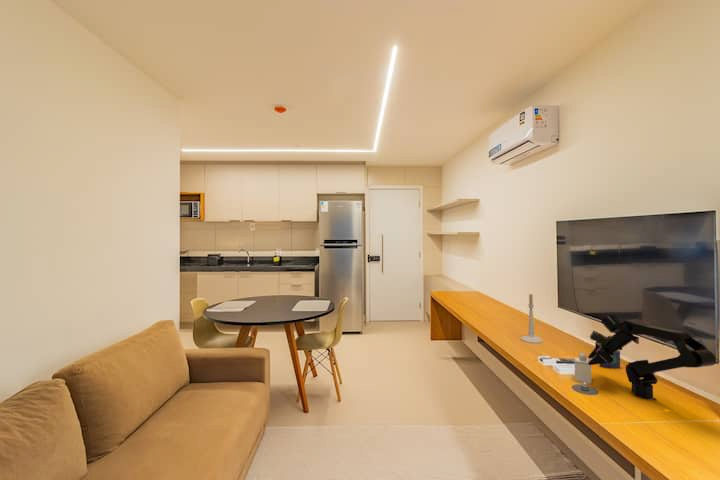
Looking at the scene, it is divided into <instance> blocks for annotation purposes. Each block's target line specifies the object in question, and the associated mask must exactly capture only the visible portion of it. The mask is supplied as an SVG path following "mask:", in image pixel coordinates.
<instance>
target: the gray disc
mask: <svg viewBox="0 0 720 480" xmlns="http://www.w3.org/2000/svg"><path fill="white" fill-rule="evenodd" d="M581 386H582V384H579V383H578V384H573V385H571V387H570V388H571V389H572V390H573V391H575V392H576V393H579V394H582V395H585V396H586V395H587V396H596V395H598V394H599V393H600V392H599V390H598V389H597V388H594V387H593V386H590V385H588V388H589V391H585V390H582V389H581Z"/></svg>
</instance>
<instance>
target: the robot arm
mask: <svg viewBox="0 0 720 480" xmlns="http://www.w3.org/2000/svg"><path fill="white" fill-rule="evenodd" d="M600 323H601V324H602V325H603V326H604V327H605V328H606V329H607V330H608V332H609V333H613V335H607V336H605V335H603V334H602V333H600V332H597V331H595V330H592V332H591V333H590V335H589V338H590V339H591V341H595V342H594V343H595V347H594V348H593V350H592V351H591V352H590V353H589V354H588V356H587V359H591V360H590V361H589V362H588V364H589V365H591V366H593V365H600V364H603V363H609V364H610V363H611V362H613V355H614V353H615V352H616V351H618V350H620V351H622V350H623V348H624V347H626V346H627V345H628V344H630V343H631V342H633V343H635V344H636V345H637V344H640V341H639V340H640V337H638V336H637V335H645V336H648V337H653V338H658V339H660V340H664V341H670V342H672V343H674V345H675V347H676V349H677V352H678V353H679V354H678V355H677V356H675V357H671V358H667V359H661V360H658V361H653V362H649V360H648V359H641V360H640V359H639V360H634V361H630V362H628V363H627V365H625V373H626V377H627V379H628V382H629V383H631V392H632V394H633V395H635V396H636V397H638V398H641V399H645V400H654V401H657V398H656V397H654V385H656V384H657V383H658V378H657V377H656V376H655V374H657V373H659V372H660V373H661V372H665V371H669V370H674V369H680V368H703V367H712V366H714V365H716V362H717V360H716V359H717V358H716V356H715V354H714V353H713V352H712V351H710V350H709V349H708V348H707V347H706V346H705V345H704V344H703V343H701V342H699V341H698V340H696V339H695V338H693V336H691V335H690V333H688V332H686V331H683V330H682V331H680V330H675V329H671V328H665V327H660V326H656V325H652V324H648V323H647V322H645V321H643V320H640V319H626V320H623V321H621V320H620V319H618V317H617V316H616V314H614V313H610V314H609V315H607V316H605V317H604V318H602V319H601V321H600ZM635 335H636V336H635ZM688 347H689V348H691V349H692V350H690V349H689V348H688Z"/></svg>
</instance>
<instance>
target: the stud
mask: <svg viewBox="0 0 720 480" xmlns="http://www.w3.org/2000/svg"><path fill="white" fill-rule="evenodd" d="M581 385H582V386H581V389H582V390H585V391H589V388H588V386H589V383H588V382H586V381H582V382H581Z"/></svg>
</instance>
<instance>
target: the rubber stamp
mask: <svg viewBox="0 0 720 480" xmlns="http://www.w3.org/2000/svg"><path fill="white" fill-rule="evenodd" d="M578 355H579V356H578V357H577V356H575V357H574V381H575V382H579V383H582V381H586V382H588V384H589V385H590V384H592V365H589V364H588V362H589V361H590V360H591V359H592V358H591V359H589V358H587V353H584V352H579V354H578Z"/></svg>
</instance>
